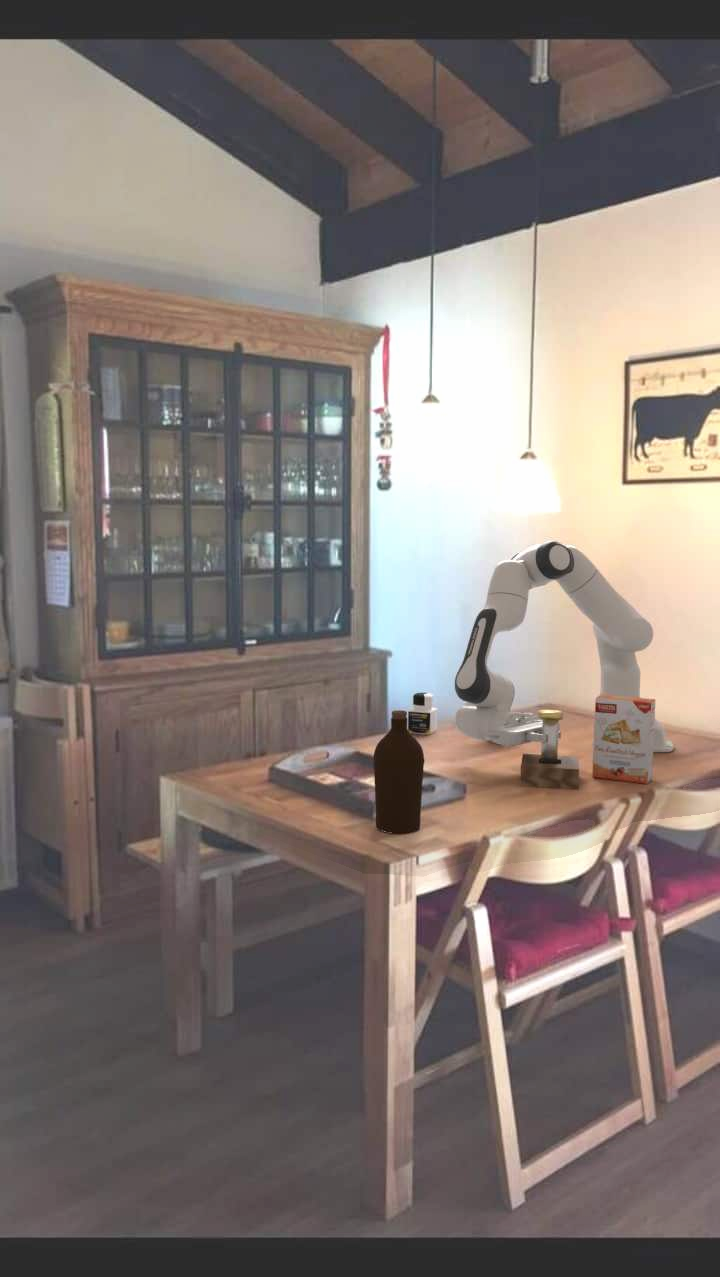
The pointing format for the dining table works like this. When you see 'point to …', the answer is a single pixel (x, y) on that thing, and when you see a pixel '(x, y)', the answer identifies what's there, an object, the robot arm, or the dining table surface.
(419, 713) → the medicine bottle
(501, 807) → the dining table surface
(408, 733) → the olive oil
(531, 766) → the block
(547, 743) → the pin
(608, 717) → the cracker box
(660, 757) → the dining table surface
